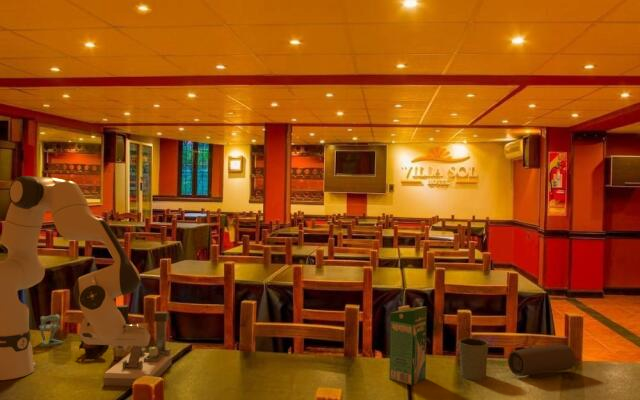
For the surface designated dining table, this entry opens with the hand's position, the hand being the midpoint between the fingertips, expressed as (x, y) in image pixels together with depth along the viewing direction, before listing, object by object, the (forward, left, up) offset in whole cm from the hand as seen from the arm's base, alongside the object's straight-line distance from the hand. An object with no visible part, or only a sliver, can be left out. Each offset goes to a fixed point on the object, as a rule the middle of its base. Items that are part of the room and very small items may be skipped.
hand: (122, 348), depth 171 cm
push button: (-2, +17, -9) cm, 20 cm away
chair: (-62, +26, -13) cm, 69 cm away
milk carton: (+81, +48, -13) cm, 95 cm away
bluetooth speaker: (+123, +72, -13) cm, 143 cm away
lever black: (-3, +22, -8) cm, 24 cm away
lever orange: (-2, +7, -8) cm, 11 cm away
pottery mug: (-33, +20, -13) cm, 41 cm away
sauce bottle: (-21, +23, -13) cm, 34 cm away
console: (-4, +13, -13) cm, 19 cm away
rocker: (-11, +19, -8) cm, 24 cm away
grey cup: (+101, +61, -13) cm, 118 cm away
